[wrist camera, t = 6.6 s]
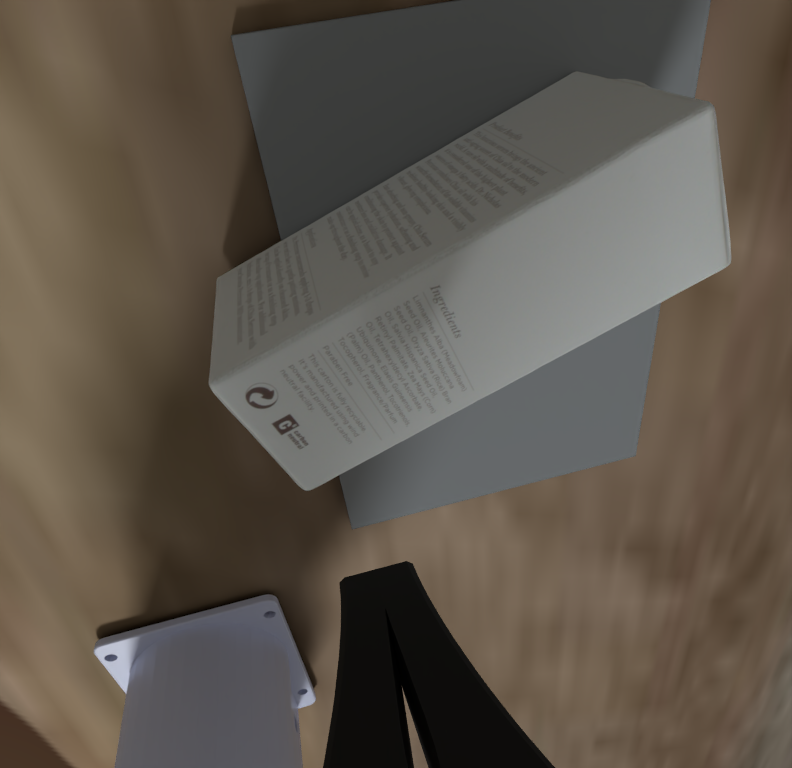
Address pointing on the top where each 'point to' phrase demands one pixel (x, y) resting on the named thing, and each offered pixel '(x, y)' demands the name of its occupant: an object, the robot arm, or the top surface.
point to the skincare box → (469, 271)
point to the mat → (422, 136)
